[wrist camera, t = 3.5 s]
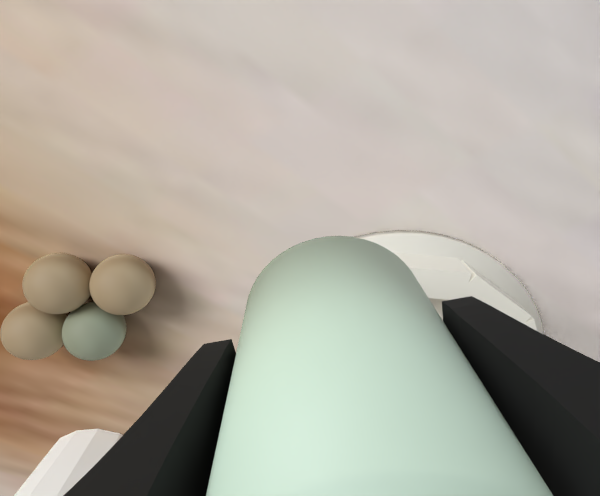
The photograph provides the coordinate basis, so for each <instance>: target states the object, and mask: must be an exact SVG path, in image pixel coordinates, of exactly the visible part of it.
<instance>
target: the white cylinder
mask: <svg viewBox="0 0 600 496" xmlns="http://www.w3.org/2000/svg"><path fill="white" fill-rule="evenodd" d="M122 436H123V435H122V434H120V433H116V432H111V431H106V430H102V429H89V430H77V431H75V432H72V433H70V434H68V435H66V436H64V437H61V438H60V439H59V440H58V441H57V442H56V444H55V445H54V446H53V447H52V448H51V450H50V451H49V452H48V453H47V455H46V456H45V457H44V459H43V460H42V461H41V462H40V464H39V465H38V466H37V467H36V469H35V470H34V471H33V472H32V474H31V475H30V476H29V477H28V479H27V480H26V481H25V483H24V484H23V485H22V486H21V488H20V489H19V490H18V491H17V493H16V494H15V495H14V496H63V495H65V494H66V493H67V492H68V491H69V490H70V489H71V488H72V487H73V486H74V485H75V484H76V483H77V482H78V481H79V480H80V479H81V478H82V477H83V476H84V475H85V474H86V473H87V472H88V471H89V470H90V469H91V468H92V467H93V466H94V465H95V464H96V463H97V462H98V461H99V460H100V459H101V458H102V457H103V456H104V455H105V454H106V453H107V452H108V451H109V450H110V449H111V448H112V447H113V445H114V444H115V443H116V442H117V441H118V440H119V439H120V438H121V437H122Z"/></svg>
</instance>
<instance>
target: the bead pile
mask: <svg viewBox="0 0 600 496" xmlns="http://www.w3.org/2000/svg"><path fill="white" fill-rule="evenodd" d="M22 286H23V292H24V295H25V297H26V299H27V301H28V302H27V303H24V304H22V305H20V306H18V307H16V308H15V309H13V310H12V311H11V312H10V313H9V314H8V315H7V316H6V318H5V319H4V321H3V323H2V326H1V331H0V336H1V341H2V344H3V346H4V347H5V349H6V350H7V351H8V352H9V353H11V354H12V355H14V356H15V357H18V358H21V359H25V360H38V359H42V358H45V357H48V356H50V355H52V354H54V353H55V352H56V351H58V350H59V349H60V348H61V347H62V346H63V344H64V346H65V347H66V349H67V350H68V351H69V352H70V353H71V354H72V355H74V356H75V357H77V358H79V359H83V360H90V361H93V360H100V359H103V358H106V357H108V356H110V355H111V354H113V353H114V352H115V351H116V350H117V349H118V348H119V347H120V346H121V344H122V343H123V341H124V339H125V336H126V321H125V318H124V316H123V315H128V314H132V313H135V312H137V311H139V310H141V309H142V308H144V307H145V306H146V305H147V304H148V303H149V301H150V300H151V298H152V297H153V295H154V292H155V287H156V281H155V275H154V273H153V271H152V269H151V267H150V266H149V265H148V264H147V263H146V262H145V261H144V260H142V259H141V258H139V257H136V256H133V255H128V254H119V255H114V256H111V257H109V258H107V259H105V260H103V261H102V262H101V263H100V264H99V265H98V266H97V267H96V268H95V269H94V271H93V273H92V272H91V270H90V268H89V267H88V266H87V264H86V263H85V262H84V261H82V260H81V259H79V258H78V257H76V256H73V255H70V254H65V253H54V254H49V255H46V256H43V257H41V258H39V259H37V260H36V261H35V262H33V263H32V264H31V265H30V266H29V268H28V269H27V271H26V273H25V275H24V278H23V283H22ZM90 294H91V296H92V298H93V300H94V302H89V303H86V304H84V303H85V302H86V301H87V299H88V298H89V296H90ZM71 311H72V312H71ZM68 312H71V313H70V314H69V315H68V317H67V315H66V314H65V313H68Z"/></svg>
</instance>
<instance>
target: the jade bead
mask: <svg viewBox="0 0 600 496" xmlns="http://www.w3.org/2000/svg"><path fill="white" fill-rule="evenodd" d="M206 496H553V495H552V493H551V491H550V490H549V488H548V487H547V485H546V483H545V482H544V480H543V479H542V477H541V476H540V474H539V472H538V471H537V469H536V468H535V466H534V464H533V463H532V461H531V460H530V458H529V457H528V455H527V453H526V452H525V450H524V449H523V447H522V445H521V444H520V442H519V441H518V439H517V437H516V436H515V434H514V433H513V431H512V430H511V428H510V426H509V425H508V423H507V422H506V420H505V418H504V417H503V415H502V414H501V412H500V411H499V409H498V407H497V406H496V404H495V403H494V401H493V399H492V398H491V396H490V395H489V393H488V392H487V390H486V388H485V387H484V385H483V384H482V382H481V380H480V379H479V377H478V376H477V374H476V373H475V371H474V369H473V368H472V366H471V365H470V363H469V361H468V360H467V358H466V357H465V355H464V354H463V352H462V350H461V349H460V347H459V346H458V344H457V342H456V341H455V339H454V338H453V336H452V335H451V333H450V331H449V330H448V328H447V327H446V325H445V323H444V322H443V320H442V319H441V317H440V316H439V314H438V312H437V311H436V309H435V308H434V306H433V304H432V303H431V301H430V300H429V298H428V297H427V295H426V293H425V292H424V290H423V289H422V287H421V285H420V284H419V282H418V281H417V279H416V277H415V276H414V274H413V273H412V271H411V270H410V269H409V267H408V266H407V265H406V264H405V263H404V262H403V261H402V260H401V259H400V258H399V257H398V256H397V255H395V254H394V253H392V252H391V251H390V250H388V249H387V248H385V247H383V246H381V245H379V244H377V243H374V242H371V241H368V240H365V239H360V238H356V237H348V236H327V237H321V238H315V239H312V240H308V241H305V242H302V243H300V244H298V245H295V246H293V247H291V248H289V249H288V250H286V251H284V252H283V253H281V254H280V255H278V256H277V257H276V258H275V259H273V260H272V261H271V262H270V263H269V264H268V265H267V266H266V267H265V268H264V269H263V270H262V272H261V273H260V275H259V276H258V277H257V279H256V281H255V283H254V284H253V286H252V288H251V291H250V294H249V297H248V301H247V305H246V310H245V315H244V319H243V324H242V329H241V333H240V338H239V343H238V347H237V352H236V357H235V361H234V366H233V371H232V376H231V380H230V385H229V390H228V394H227V399H226V404H225V408H224V413H223V418H222V422H221V427H220V432H219V436H218V441H217V446H216V450H215V455H214V460H213V465H212V469H211V474H210V479H209V483H208V488H207V493H206Z"/></svg>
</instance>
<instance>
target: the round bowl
mask: <svg viewBox="0 0 600 496" xmlns="http://www.w3.org/2000/svg"><path fill="white" fill-rule="evenodd" d="M356 238H360V239H365V240H368V241H371V242H374V243H377V244H379V245H381V246H383V247H385V248H387V249H388V250H390V251H391V252H392V253H394V254H395V255H397V256H398V257H399V258H400V259H401V260H402V261H403V262H404V263H405V264H406V265H407V266H408V267H409V269H410V270H411V271H412V273H413V274H414V276H415V277H416V279H417V281H418V282H419V284H420V285H421V287H422V289H423V290H424V292H425V293H426V295H427V297H428V298H429V300H430V301H431V303H432V304H433V306H434V308H435V309H436V311H437V312H438V314H439V316H440V317H441V319H442V320H443V312H442V301H447V300H452V299H458V298H464V297H469V296H472V297H474V298H477V299H479V300H481V301H482V302H484V303H486V304H488V305H490V306H492V307H494V308H496V309H497V310H499V311H501V312H503V313H505V314H507V315H508V316H510V317H512V318H514V319H516V320H518V321H519V322H521V323H523V324H525V325H527V326H529V327H530V328H532V329H534V330H536V331H538V332H540V333H542V334H544V333H543V326H542V322H541V319H540V316H539V313H538V310H537V307H536V305H535V304H534V302H533V300H532V298H531V296H530V294H529V293H528V291H527V290H526V289H525V287H524V286H523V285H522V284H521V282H520V281H519V280H518V279H517V278H516V277H515V276H514V275H513V274H512V273H511V272H510V271H509V270H508V269H506V268H505V267H504V266H503V265H502V264H501V263H500V262H499V261H497V260H496V259H495V258H493V257H492V256H490V255H489V254H487V253H486V252H484V251H483V250H481V249H479V248H477V247H475V246H473V245H471V244H468V243H466V242H464V241H462V240H459V239H455V238H452V237H449V236H445V235H442V234H436V233H430V232H424V231H406V230H395V231H384V232H375V233H370V234H365V235H361V236H356Z"/></svg>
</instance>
